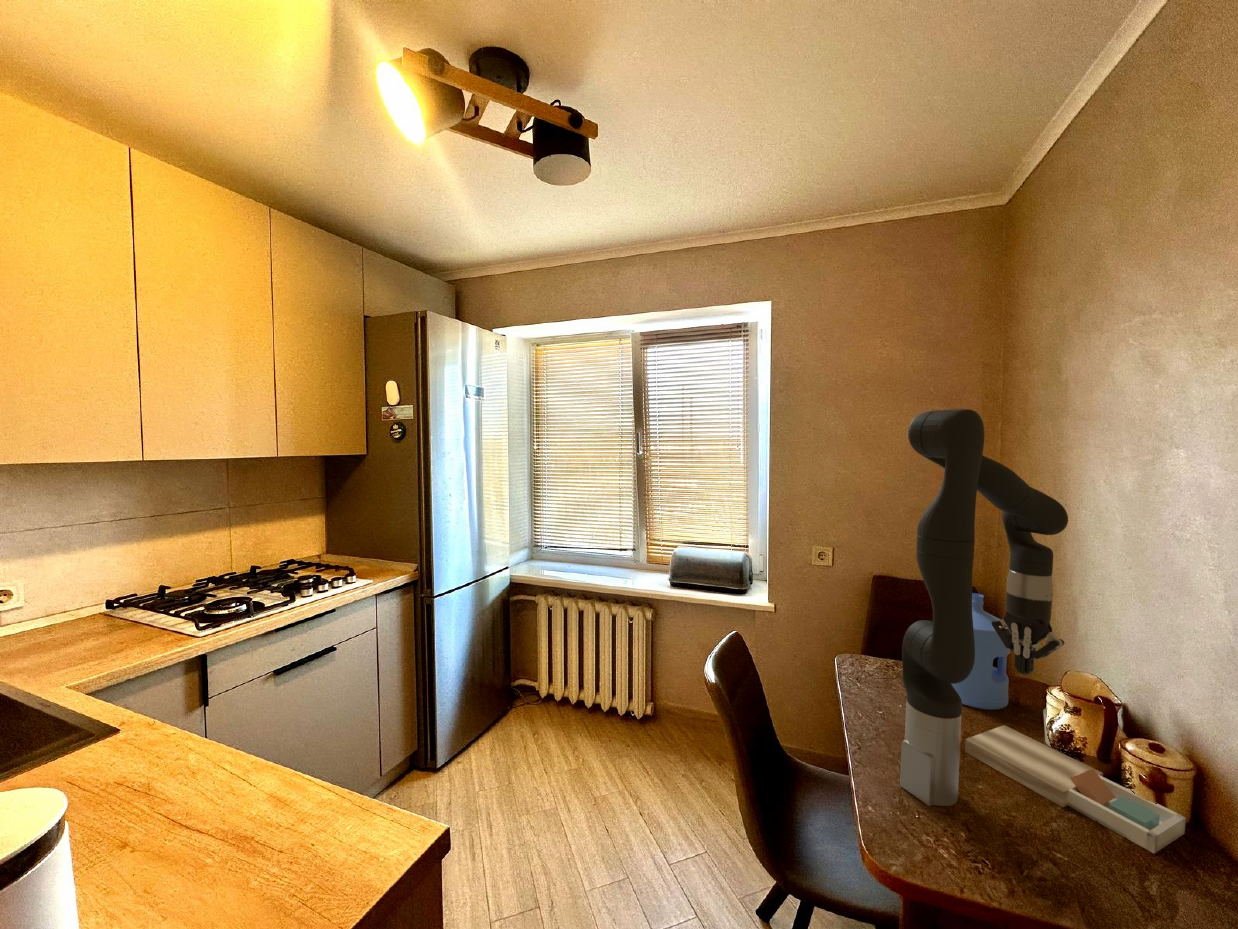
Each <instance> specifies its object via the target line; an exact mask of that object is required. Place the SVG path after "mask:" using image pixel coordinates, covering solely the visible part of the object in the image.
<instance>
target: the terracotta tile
mask: <svg viewBox="0 0 1238 929" xmlns="http://www.w3.org/2000/svg"><path fill="white" fill-rule="evenodd" d="M1093 768H1094V767H1092V769H1089V770H1086V771H1083V772H1080V773H1078V774H1076V775H1074V776H1071V777H1069V778H1070V779H1071V781H1072V782H1073V783H1074V785H1075V786H1076V787H1077V789H1078V790H1079V791H1080V793H1081V794H1082V795H1084V796H1086V797H1088V798H1090V799H1091V800H1093V801H1095V802H1097V803H1099V804H1101V805H1102V804H1104V803H1106V802H1108V801H1110V800H1112V799H1114V798H1116V797H1115V796H1114V795H1113V793H1112V792H1111V791H1110V790H1109V788H1108V787H1107V786H1106V785H1105V783H1104V782H1103V781H1102V779H1101V778H1100V777H1099V776H1098V774H1097V773H1096V772H1095V770H1094V769H1095V768H1094V769H1093Z"/></svg>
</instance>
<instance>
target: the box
mask: <svg viewBox="0 0 1238 929" xmlns="http://www.w3.org/2000/svg"><path fill="white" fill-rule="evenodd" d="M1098 776H1099V777H1100V778H1101V779H1102V781H1103V782H1104V783H1105V785H1106V786H1107V787H1108V788H1109V790H1110V791H1111V792H1112V793H1113V795H1114V796H1115V797H1116V798H1114V799H1112V800H1110V801H1108V802H1106V803H1104V804H1102V805H1101V804H1099V803H1097V802H1095V801H1093V800H1091V799H1090V798H1088V797H1086V796H1084V795H1082V794H1080V793H1078V792H1076V791H1075V790H1073V789H1070V790H1068V802H1067V806H1068V807H1070V808H1071V809H1073V810H1075V811H1076V812H1079V813H1080V814H1082V815H1084V816H1085V817H1088V818H1089V819H1091V820H1093V821H1095V822H1096V821H1097V823H1098V824H1100V825H1102V826H1103V827H1105V828H1107V829H1109V830H1110V831H1112V832H1114V833H1116V834H1118V835H1120V836H1122V837H1123V838H1126V839H1127V840H1129V841H1130V842H1132V843H1134V844H1136V845H1138V846H1140V847H1142V848H1143V849H1144V850H1147V851H1149V852H1150V853H1152V854H1156V853H1157V852H1159V851H1160V850H1162V849H1164V848H1165V847H1167V846H1168V845H1169V844H1172V842H1174V841H1176V840H1178V839H1179V838H1180V837H1182V836H1183V835H1185V830H1186V820H1187V819H1186V817H1185V816H1184V815H1182V814H1179V813H1177V812H1175V811H1173V810H1172V809H1169V808H1167V807H1165V806H1163V805H1161V804H1159V803H1157V804H1155V803H1156V802H1155V803H1153V802H1154V801H1153V802H1150V801H1147V800H1145V799H1143V798H1141V797H1139V796H1137V795H1136V794H1134V793H1133V792H1134V791H1133V792H1132V790H1130V789H1128V788H1127V787H1125V786H1122V785H1120V784H1119V783H1117V782H1114V781H1112V780H1110V779H1108V778H1106V777H1104V776H1103V777H1102V776H1100V775H1098ZM1121 797H1125V798H1127V799H1129V800H1131V801H1133V802H1135V803H1137V804H1139V805H1141V806H1142V807H1144V808H1146V809H1148V810H1150V811H1152V812H1154V813H1156V814H1158V815H1160V820H1159V825H1158V826H1157V827H1155V828H1153V829H1152V830H1148V829H1146V828H1144V827H1142V826H1140V825H1139V824H1137V823H1135V822H1133V821H1131V820H1129V819H1127V818H1125V817H1123V816H1122V815H1120V814H1118V813H1116V812H1114V811H1112V810H1110V809H1108V806H1109V803H1111V802H1113V801H1115V800H1117V799H1119V798H1121Z"/></svg>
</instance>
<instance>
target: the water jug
mask: <svg viewBox="0 0 1238 929" xmlns="http://www.w3.org/2000/svg"><path fill="white" fill-rule="evenodd" d="M984 597H985V596H984V594H981V593H978V592H977V593H975V592H972V617H973V630H974V642H975V661H974V665H973V669H972V671H971V673H970V674H969V676H968V677H967V678H966V679H965V680H964V681H962V682H960V683H956V684H952V686H953V687H954V689H955V690H956V692H957V693H958V694H959V696H960V698H961V700H962V705H964V706H966V707H967V706H968V707H972V708H974V709H978V710H979V709H980V710H990V711H994V710H1001V709H1004V708H1006V706H1008V705H1009V677H1008V674H1007V660H1008V659H1007V658H1008V655H1010V653H1011V649H1008V648H1006V647H1005V645H1004V644H1003V642H1002V640H1001V639H1000V637H999V635H998V634H997V632H996V631H995V629H994V627H993V626H992V624H991V623H992V622H993V621H998V620H1001V619H1000V618H999V617H996V616H994V615H992V614H990V613H989V612H987V611H985V610H984ZM1008 630H1009V628H1008ZM1009 631H1010V630H1009ZM1010 633H1011V632H1010ZM1011 634H1012V633H1011ZM995 659H997V667H995V666H993V665H994V660H995Z"/></svg>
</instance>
